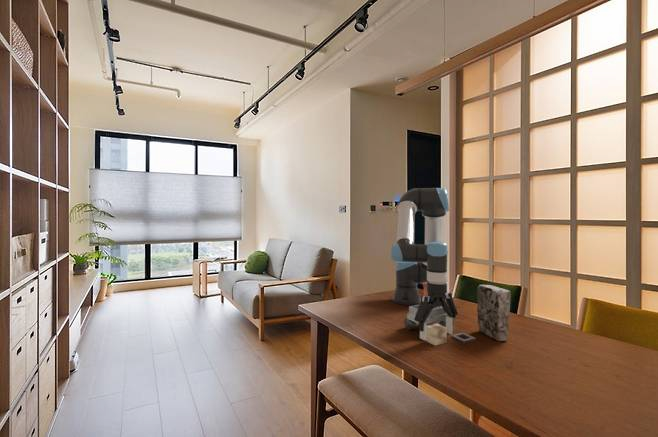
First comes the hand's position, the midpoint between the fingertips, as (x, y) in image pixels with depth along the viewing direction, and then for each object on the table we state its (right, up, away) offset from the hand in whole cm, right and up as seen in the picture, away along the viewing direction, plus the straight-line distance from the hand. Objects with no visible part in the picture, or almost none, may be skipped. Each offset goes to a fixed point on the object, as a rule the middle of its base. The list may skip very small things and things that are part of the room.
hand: (436, 336), depth 132 cm
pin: (0, +6, +11) cm, 13 cm away
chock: (0, -2, 0) cm, 2 cm away
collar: (+12, -2, +3) cm, 12 cm away
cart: (0, -2, +12) cm, 12 cm away
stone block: (+25, -2, +6) cm, 26 cm away
